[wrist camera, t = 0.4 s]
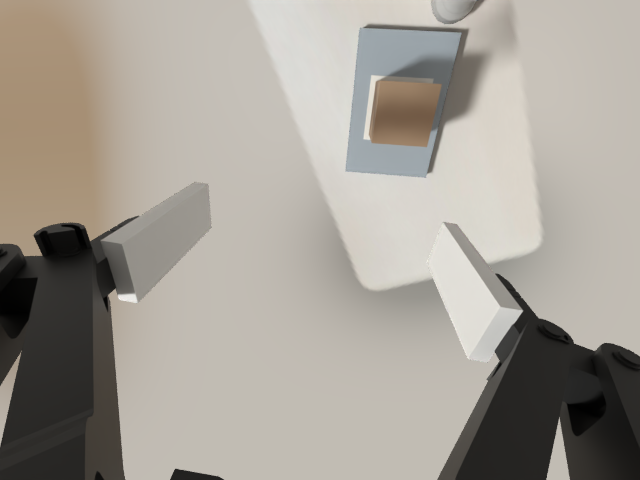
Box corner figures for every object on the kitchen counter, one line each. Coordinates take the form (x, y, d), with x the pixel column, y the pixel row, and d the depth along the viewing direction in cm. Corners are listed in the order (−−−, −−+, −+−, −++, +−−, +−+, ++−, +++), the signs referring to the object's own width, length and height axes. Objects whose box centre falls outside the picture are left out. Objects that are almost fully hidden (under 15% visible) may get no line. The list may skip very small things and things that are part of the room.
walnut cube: (375, 81, 33) (380, 80, 27) (427, 84, 32) (441, 84, 27) (368, 134, 35) (371, 143, 30) (415, 138, 35) (426, 147, 30)
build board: (359, 29, 31) (359, 27, 30) (457, 34, 31) (462, 32, 30) (345, 169, 39) (345, 171, 38) (423, 175, 39) (425, 177, 37)
